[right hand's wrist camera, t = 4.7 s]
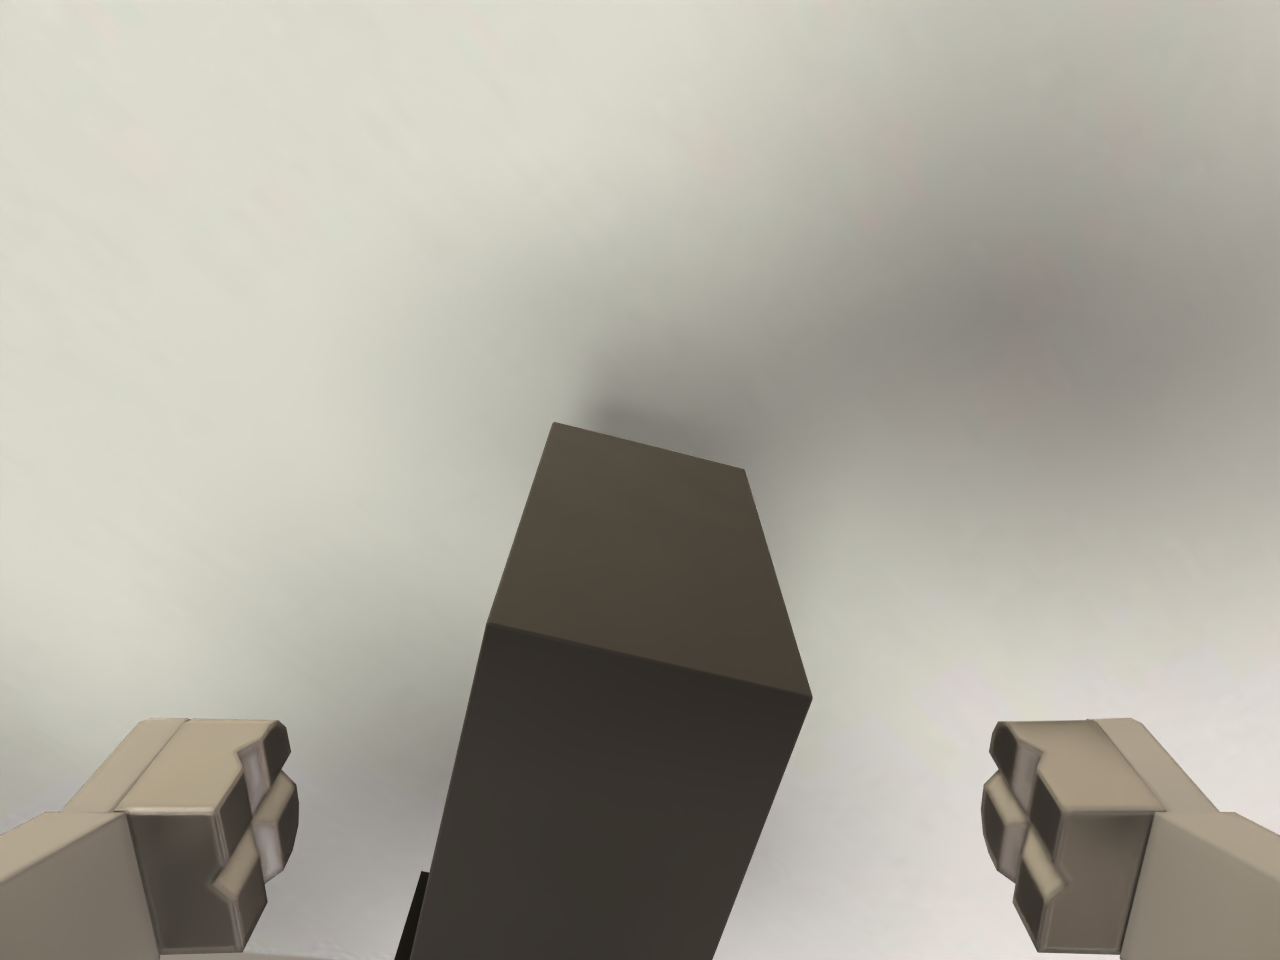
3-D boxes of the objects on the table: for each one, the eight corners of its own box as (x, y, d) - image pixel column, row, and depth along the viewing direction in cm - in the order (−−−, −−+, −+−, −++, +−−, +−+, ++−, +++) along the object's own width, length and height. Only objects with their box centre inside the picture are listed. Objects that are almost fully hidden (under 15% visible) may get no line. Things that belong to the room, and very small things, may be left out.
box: (553, 421, 27) (486, 622, 16) (745, 469, 27) (814, 698, 16) (433, 926, 34) (327, 1318, 23) (588, 957, 34) (560, 1355, 23)
